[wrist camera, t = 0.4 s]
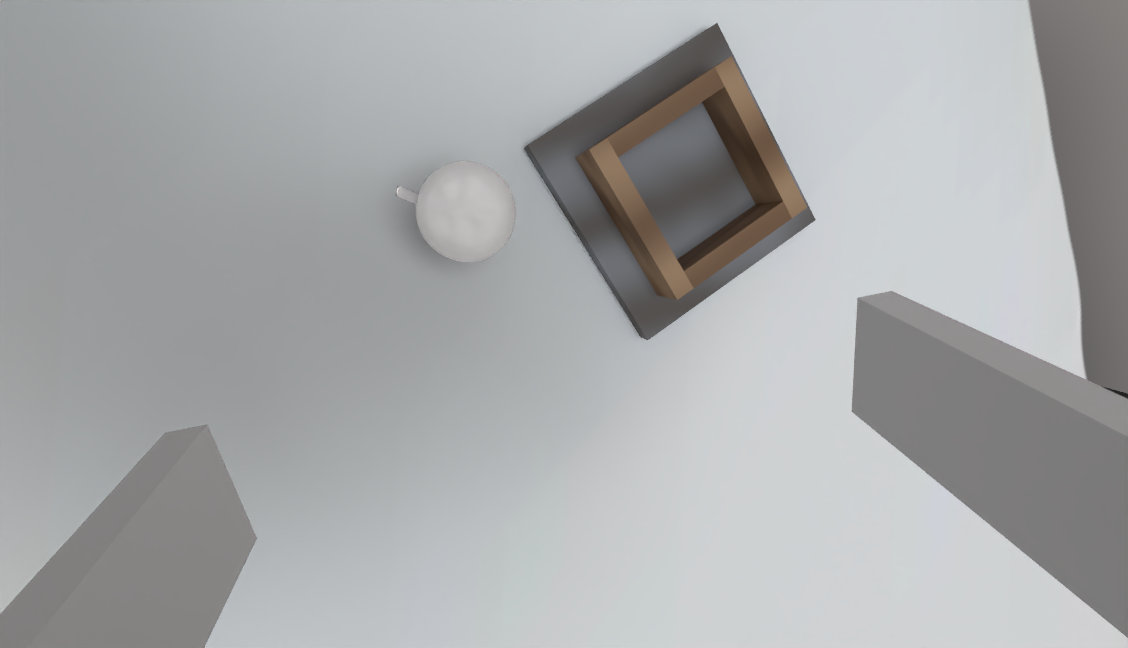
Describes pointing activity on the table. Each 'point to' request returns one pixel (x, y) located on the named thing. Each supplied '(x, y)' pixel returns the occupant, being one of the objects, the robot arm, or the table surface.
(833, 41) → the table surface
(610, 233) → the socket board
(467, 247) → the milkshake
